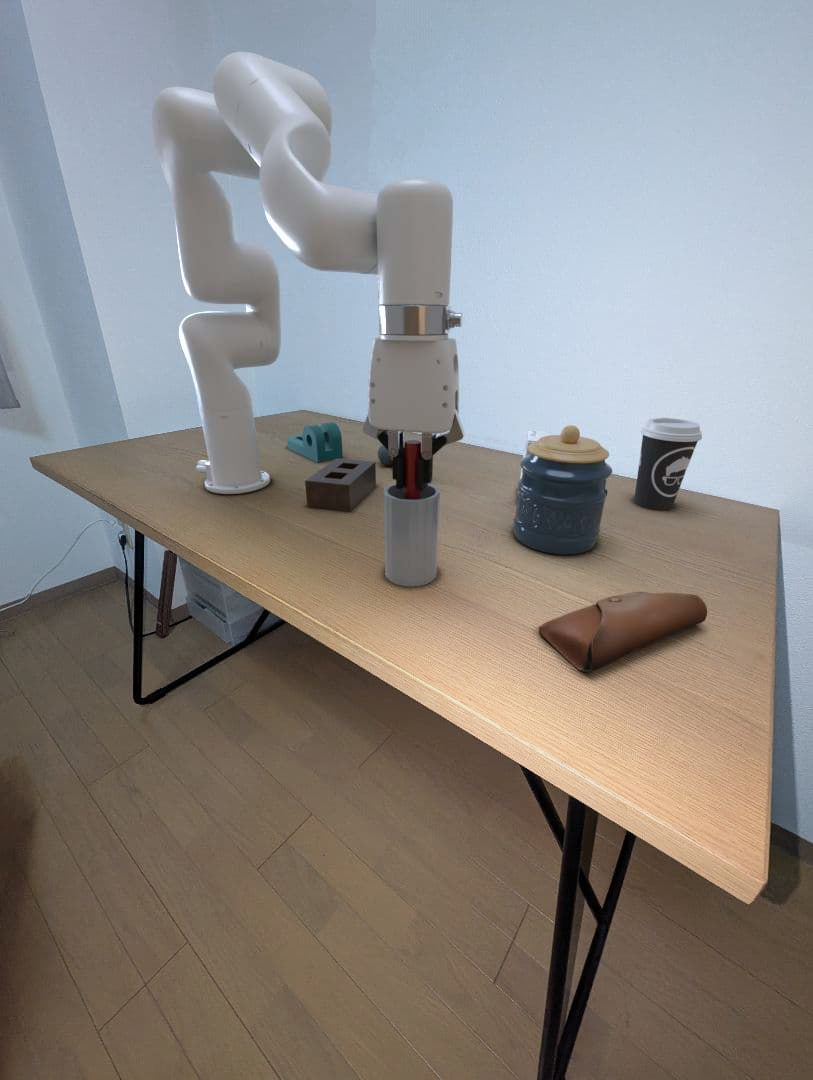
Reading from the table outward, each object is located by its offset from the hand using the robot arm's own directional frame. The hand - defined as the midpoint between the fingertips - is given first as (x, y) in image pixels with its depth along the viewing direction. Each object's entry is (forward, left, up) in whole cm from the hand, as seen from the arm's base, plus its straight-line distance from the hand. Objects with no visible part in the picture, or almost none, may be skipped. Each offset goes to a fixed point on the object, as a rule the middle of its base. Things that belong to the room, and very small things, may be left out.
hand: (412, 485), depth 59 cm
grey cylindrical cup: (0, 0, -13) cm, 13 cm away
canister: (+19, +17, -13) cm, 29 cm away
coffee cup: (+37, +37, -13) cm, 54 cm away
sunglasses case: (+26, -6, -13) cm, 30 cm away
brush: (0, 0, -11) cm, 11 cm away
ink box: (+15, +34, -13) cm, 39 cm away
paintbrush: (-13, +43, -13) cm, 47 cm away
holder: (-20, +25, -13) cm, 35 cm away
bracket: (-39, +51, -13) cm, 66 cm away
